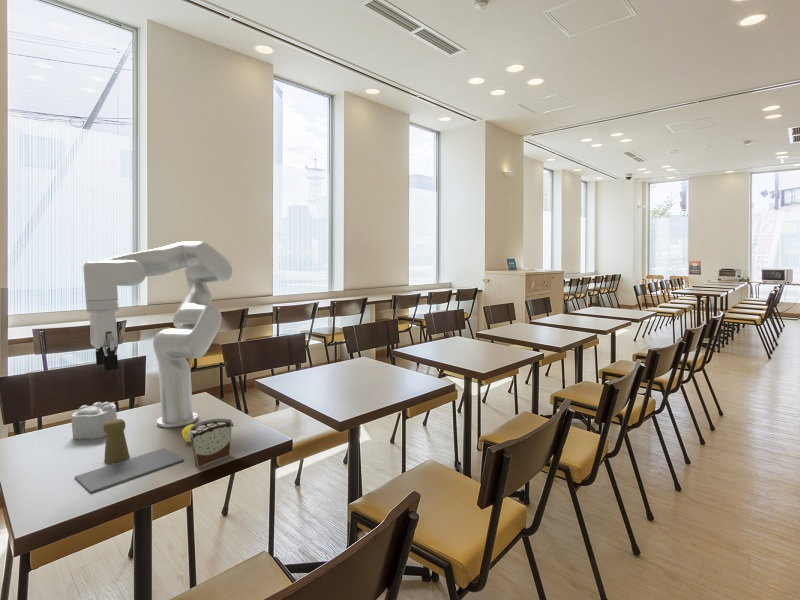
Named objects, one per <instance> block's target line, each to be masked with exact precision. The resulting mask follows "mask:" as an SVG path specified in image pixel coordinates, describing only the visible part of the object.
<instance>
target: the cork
mask: <svg viewBox="0 0 800 600" xmlns="http://www.w3.org/2000/svg"><path fill="white" fill-rule="evenodd" d="M125 429H126V422H125V420H124V419H121V418H117V419H113V420H109V421H107V422H106V423H105V424H104V426H103V430H104V432H105V433H106V436H105V445H104V463H105V464H107V465H112V464H113V463H114V464H115V463H118V462H121V461H124V460H127V459H130V457H131V456H130V453H129V448H128V444H127V439H126V436H125V435H126V434H125V432H124V431H125Z"/></svg>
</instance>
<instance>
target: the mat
mask: <svg viewBox="0 0 800 600" xmlns="http://www.w3.org/2000/svg"><path fill="white" fill-rule="evenodd" d="M184 461H185V460H184V458H183V457H181V456H179V455H177V454H176V453H174V452H172V451H171V450H169V449H167V448H166V447H163V448H159V449H156V450H153V451H150V452H147V453H144V454H140V455H137V456H134V457H131V458H130V457H129V458H128V459H127V460H124V461H121V462H118V463H114V464H108V465H106V466H103V467H100V468H97V469H94V470H91V471H88V472H87V471H86V472H84V473H81V474H77V475H74V479H75V480H76V481H77V482H78V483H79V484H81V486H82V487H83V488H84V489H86V491H88V492H89V494H93V492H94V493H97V492H99V491H102V490H105V489H108V488H111V487H114V486H116V485H119V484H122V483H124V482H127V481H130V480H133V479H136V478H139V477H142V476H144V475H147V474H150V473H152V472H156V471H159V470H162V469H165V468H168V467H171V466H173V465H175V464H176V465H177V464H179V463H181V462H184Z"/></svg>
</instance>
